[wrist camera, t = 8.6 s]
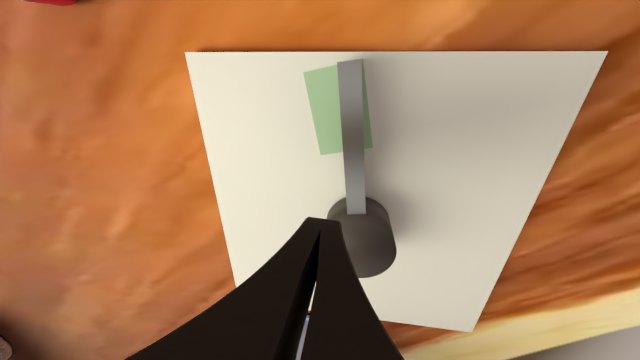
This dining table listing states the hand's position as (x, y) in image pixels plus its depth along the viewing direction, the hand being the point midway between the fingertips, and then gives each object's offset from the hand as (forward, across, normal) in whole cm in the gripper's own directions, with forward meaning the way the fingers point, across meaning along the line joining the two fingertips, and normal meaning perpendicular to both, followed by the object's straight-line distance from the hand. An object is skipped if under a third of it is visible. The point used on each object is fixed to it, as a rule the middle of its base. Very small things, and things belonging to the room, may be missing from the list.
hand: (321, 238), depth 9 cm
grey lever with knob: (+8, -1, 0) cm, 8 cm away
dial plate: (+9, -2, +5) cm, 11 cm away
